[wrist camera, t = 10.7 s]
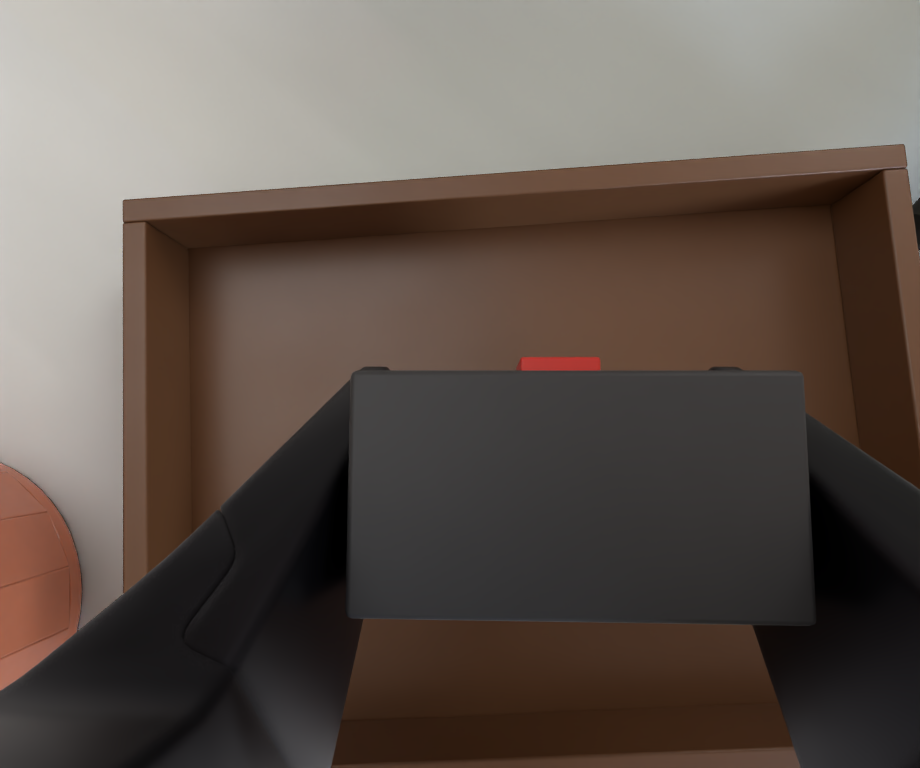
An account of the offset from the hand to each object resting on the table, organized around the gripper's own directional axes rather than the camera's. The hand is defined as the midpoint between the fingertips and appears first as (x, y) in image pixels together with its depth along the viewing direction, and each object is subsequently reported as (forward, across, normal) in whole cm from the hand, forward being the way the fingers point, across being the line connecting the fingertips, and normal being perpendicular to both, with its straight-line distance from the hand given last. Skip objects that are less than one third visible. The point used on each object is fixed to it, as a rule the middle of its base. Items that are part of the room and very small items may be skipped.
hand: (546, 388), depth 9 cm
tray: (+4, 0, +6) cm, 8 cm away
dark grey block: (+3, 0, +5) cm, 6 cm away
